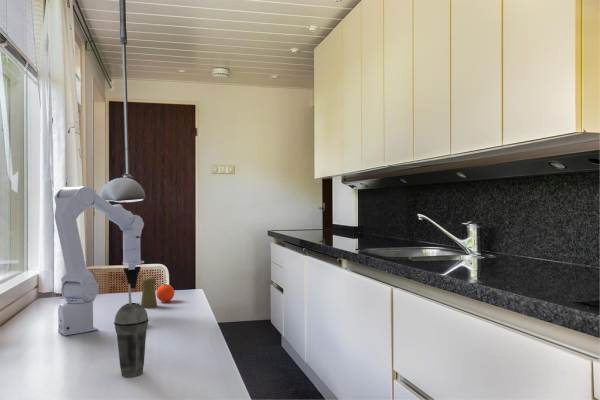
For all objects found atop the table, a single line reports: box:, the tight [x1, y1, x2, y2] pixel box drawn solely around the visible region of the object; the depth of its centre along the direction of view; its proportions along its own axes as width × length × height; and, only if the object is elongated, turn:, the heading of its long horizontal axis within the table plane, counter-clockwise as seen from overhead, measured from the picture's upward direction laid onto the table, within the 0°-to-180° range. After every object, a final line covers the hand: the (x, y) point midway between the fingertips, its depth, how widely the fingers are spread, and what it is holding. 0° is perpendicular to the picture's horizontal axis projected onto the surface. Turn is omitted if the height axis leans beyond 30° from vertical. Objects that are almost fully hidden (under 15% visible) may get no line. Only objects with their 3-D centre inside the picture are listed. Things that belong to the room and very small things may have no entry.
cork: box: [140, 276, 158, 309], centre depth 179 cm, size 6×6×11 cm
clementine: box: [156, 283, 175, 303], centre depth 189 cm, size 8×7×7 cm
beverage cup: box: [113, 283, 150, 378], centre depth 105 cm, size 7×7×20 cm
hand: (132, 288), depth 165 cm, fingers closed
